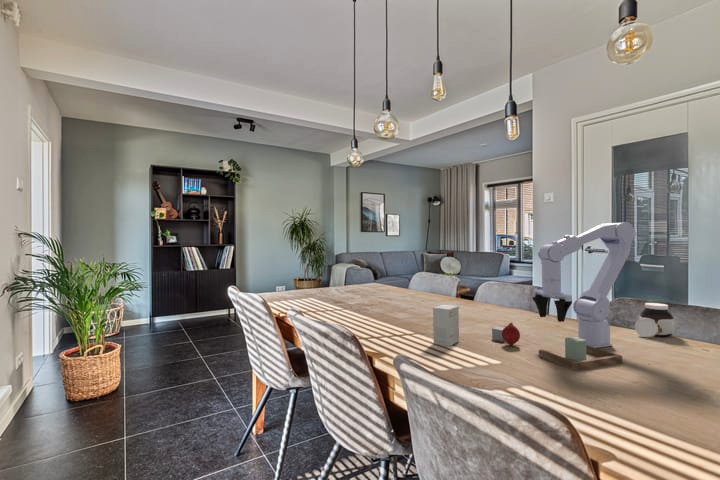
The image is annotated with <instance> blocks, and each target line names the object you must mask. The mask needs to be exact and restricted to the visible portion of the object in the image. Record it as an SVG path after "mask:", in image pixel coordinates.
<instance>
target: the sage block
mask: <svg viewBox="0 0 720 480" xmlns="http://www.w3.org/2000/svg"><path fill="white" fill-rule="evenodd" d="M564 354H565V355H564V358H567V359H569V360H572V361H581V360H587V352H586V340H584V339H580V338H578V337H577V336H573V337H572V336H571V337H565V338H564Z"/></svg>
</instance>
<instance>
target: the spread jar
mask: <svg viewBox="0 0 720 480" xmlns="http://www.w3.org/2000/svg"><path fill="white" fill-rule="evenodd" d="M634 330H635V332H636V333H637V334H638V335H639V336H641V337H643V338H652V337H653V338H669V337H671V336H672V335H673V334H674V332H675V319H674V315H673V313H672V312H671V311H670V310H669V305H668V304H666V303H661V302H660V303H659V302H645V304H644V309H642V310H641V312H640V313H639V319H638V320H636V322H635V323H634Z"/></svg>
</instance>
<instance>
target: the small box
mask: <svg viewBox="0 0 720 480" xmlns="http://www.w3.org/2000/svg"><path fill="white" fill-rule="evenodd" d="M459 309H460V307H459V306H458V305H455V304H454V305H453V304H441V305H436V306H434V307H432V320H433V322H432V326H433V344H434V345H438V346H439V345H440V346H445V347H451V346H453V345H455V344H457V343H459V342H460V324H459V323H460V317H459V315H460V311H459Z"/></svg>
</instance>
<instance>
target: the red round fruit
mask: <svg viewBox="0 0 720 480" xmlns="http://www.w3.org/2000/svg"><path fill="white" fill-rule="evenodd" d="M503 328H504V329H503V331H502V337H503V339H504V342H505V343H506V344H508V345H509V346H514V344H515V345H516V343H518V342H519V340H520V338H521V333H520V331H519V328H517V327H516V326H515V325H514V324H513V322H511V321H510V322H509V323H508V325H505V327H503Z"/></svg>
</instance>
